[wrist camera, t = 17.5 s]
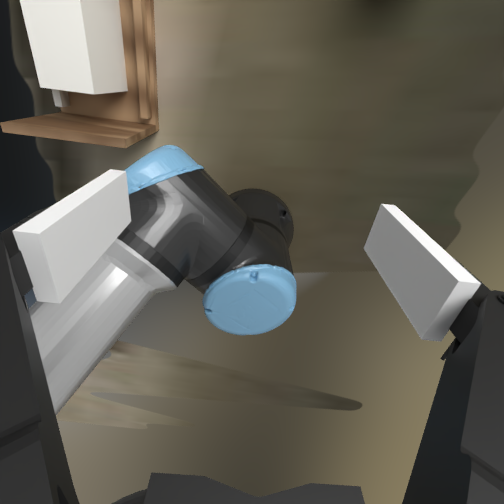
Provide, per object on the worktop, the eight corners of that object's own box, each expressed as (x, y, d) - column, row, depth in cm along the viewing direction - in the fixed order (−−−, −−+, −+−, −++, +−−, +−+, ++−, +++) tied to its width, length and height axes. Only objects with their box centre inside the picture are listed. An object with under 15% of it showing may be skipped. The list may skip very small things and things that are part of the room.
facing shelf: (158, 130, 45) (125, 148, 34) (68, 118, 44) (2, 132, 33) (150, -67, 34) (96, -142, 22) (28, -89, 33) (-94, -178, 21)
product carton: (127, 91, 41) (94, 94, 33) (83, 85, 41) (38, 87, 32) (116, -21, 35) (72, -53, 26) (64, -29, 34) (1, -64, 26)
